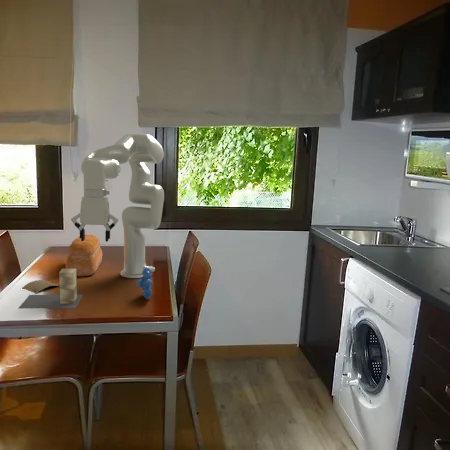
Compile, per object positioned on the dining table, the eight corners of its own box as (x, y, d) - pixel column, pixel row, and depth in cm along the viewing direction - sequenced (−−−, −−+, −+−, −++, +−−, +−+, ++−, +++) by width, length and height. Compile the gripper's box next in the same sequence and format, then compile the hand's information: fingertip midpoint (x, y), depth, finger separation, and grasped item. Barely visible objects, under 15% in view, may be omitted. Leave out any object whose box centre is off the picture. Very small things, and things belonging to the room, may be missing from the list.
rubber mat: (83, 295, 173) (83, 294, 173) (75, 309, 159) (75, 308, 159) (29, 295, 170) (29, 294, 170) (17, 309, 156) (17, 308, 156)
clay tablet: (48, 282, 188) (48, 276, 187) (64, 287, 183) (64, 281, 182) (17, 291, 176) (17, 285, 175) (33, 297, 171) (33, 290, 170)
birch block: (76, 298, 168) (76, 268, 166) (74, 303, 163) (73, 272, 161) (63, 298, 168) (62, 268, 165) (60, 303, 163) (59, 272, 160)
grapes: (135, 292, 179) (135, 264, 177) (151, 291, 181) (152, 263, 178) (136, 302, 168) (136, 272, 166) (154, 302, 170) (154, 272, 167)
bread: (103, 261, 222) (103, 232, 219) (94, 277, 196) (94, 244, 193) (76, 261, 220) (75, 231, 217) (63, 277, 195) (62, 243, 192)
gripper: (120, 193, 164) (120, 238, 167) (72, 191, 162) (72, 238, 165) (118, 195, 157) (118, 243, 160) (67, 194, 154) (68, 242, 158)
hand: (95, 240), depth 162 cm, fingers open, 8 cm apart
